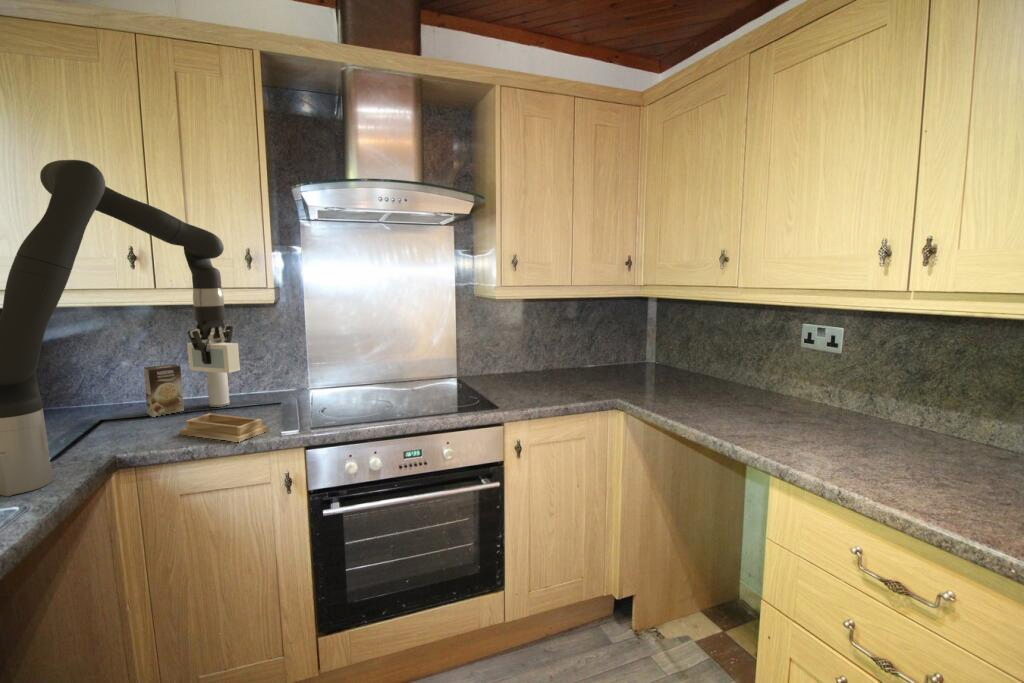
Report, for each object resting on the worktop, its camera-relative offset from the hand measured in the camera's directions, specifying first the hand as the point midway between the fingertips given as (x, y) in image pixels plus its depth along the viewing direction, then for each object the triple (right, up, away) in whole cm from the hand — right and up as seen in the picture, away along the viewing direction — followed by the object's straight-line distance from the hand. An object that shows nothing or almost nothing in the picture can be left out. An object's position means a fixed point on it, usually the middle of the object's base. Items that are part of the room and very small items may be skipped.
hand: (214, 362), depth 143 cm
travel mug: (-17, -17, +32) cm, 40 cm away
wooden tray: (+1, -21, +3) cm, 22 cm away
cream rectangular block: (0, -2, 0) cm, 2 cm away
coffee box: (-30, -18, +23) cm, 42 cm away
